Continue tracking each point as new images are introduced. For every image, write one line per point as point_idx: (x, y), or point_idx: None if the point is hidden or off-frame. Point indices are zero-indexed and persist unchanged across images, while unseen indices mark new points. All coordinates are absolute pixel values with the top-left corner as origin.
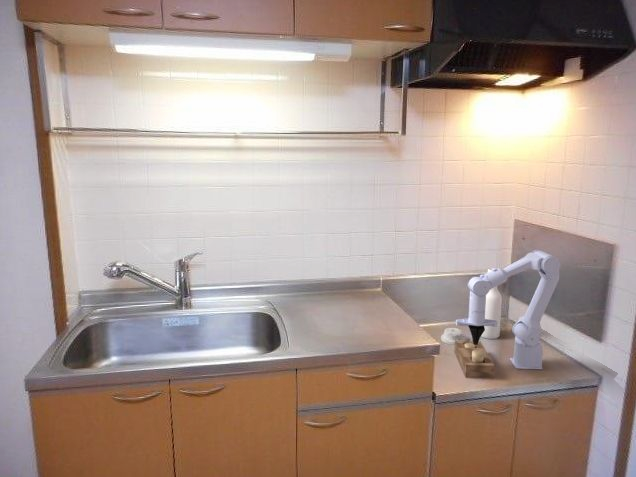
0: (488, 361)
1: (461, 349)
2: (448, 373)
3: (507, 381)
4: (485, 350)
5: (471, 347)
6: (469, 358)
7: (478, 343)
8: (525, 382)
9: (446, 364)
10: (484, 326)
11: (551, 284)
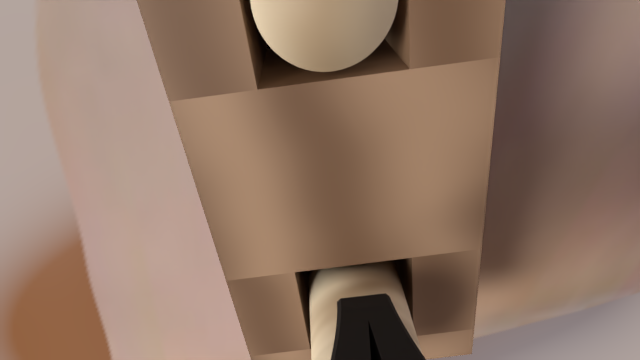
0: (443, 312)
1: (212, 138)
2: (153, 275)
3: (509, 292)
4: (490, 116)
5: (336, 70)
6: (290, 296)
7: None
8: (611, 284)
9: (116, 161)
10: None
11: None
